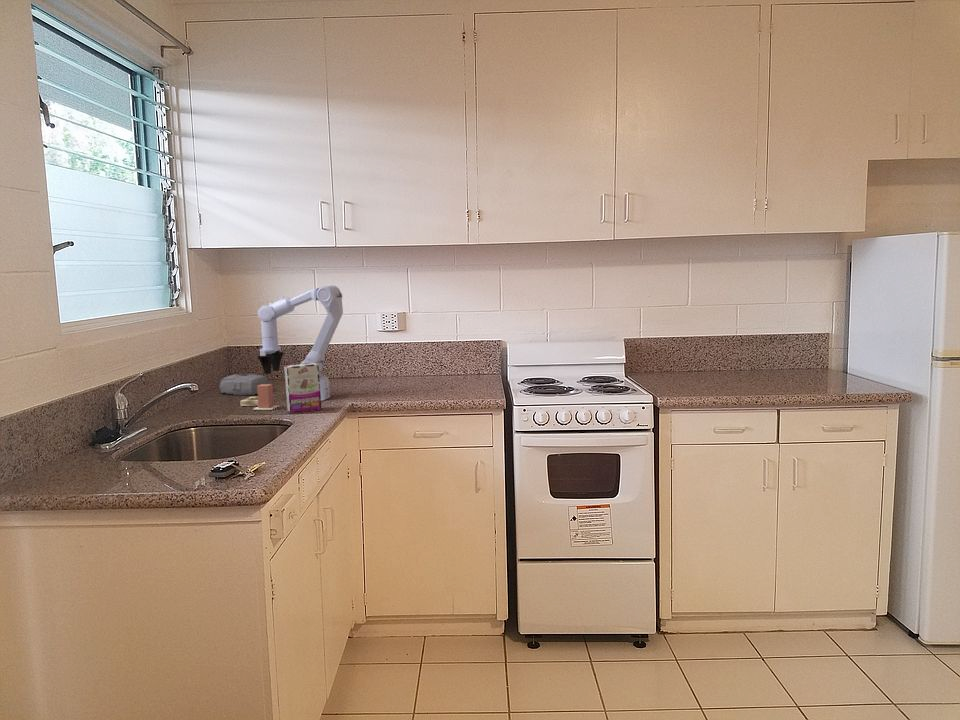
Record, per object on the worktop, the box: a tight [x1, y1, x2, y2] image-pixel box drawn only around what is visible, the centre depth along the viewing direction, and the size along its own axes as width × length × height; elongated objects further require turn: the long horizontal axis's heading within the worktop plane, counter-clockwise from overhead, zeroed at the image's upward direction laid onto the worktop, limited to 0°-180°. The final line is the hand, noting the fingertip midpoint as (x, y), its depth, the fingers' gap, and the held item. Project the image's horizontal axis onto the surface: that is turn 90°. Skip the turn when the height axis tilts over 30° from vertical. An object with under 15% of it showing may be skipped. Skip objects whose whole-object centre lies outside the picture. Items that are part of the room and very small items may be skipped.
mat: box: [252, 404, 280, 411], centre depth 258 cm, size 7×6×1 cm
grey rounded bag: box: [218, 372, 271, 396], centre depth 294 cm, size 15×8×20 cm
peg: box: [257, 383, 275, 408], centre depth 258 cm, size 4×4×8 cm
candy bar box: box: [283, 363, 322, 414], centre depth 252 cm, size 11×5×16 cm, turn 117°
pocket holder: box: [239, 396, 258, 407], centre depth 267 cm, size 8×8×2 cm
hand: (272, 372), depth 276 cm, fingers open, 7 cm apart
